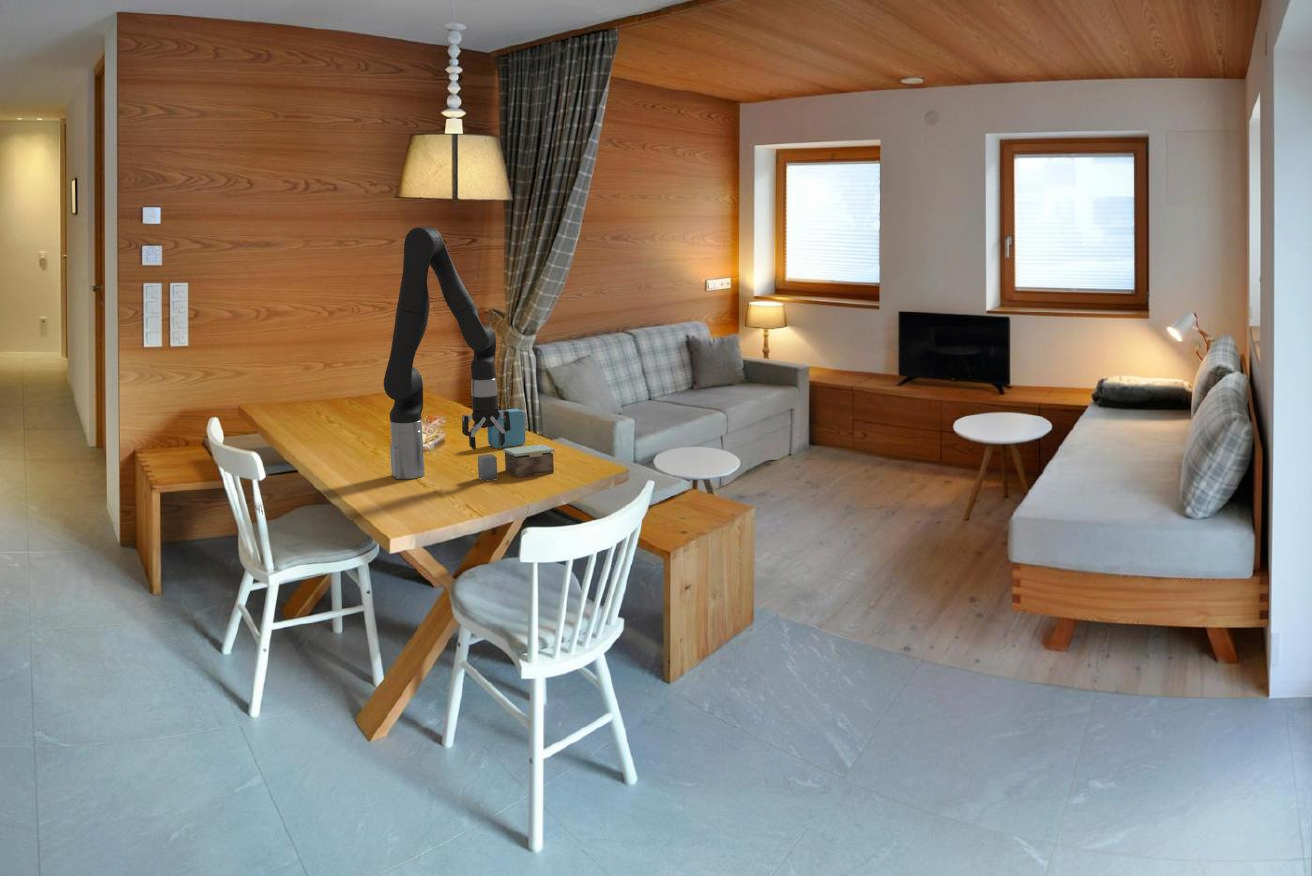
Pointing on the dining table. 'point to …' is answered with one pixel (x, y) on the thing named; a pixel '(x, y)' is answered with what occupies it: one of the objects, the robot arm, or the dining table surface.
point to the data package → (515, 434)
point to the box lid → (529, 450)
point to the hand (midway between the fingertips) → (487, 447)
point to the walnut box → (529, 465)
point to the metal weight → (487, 467)
